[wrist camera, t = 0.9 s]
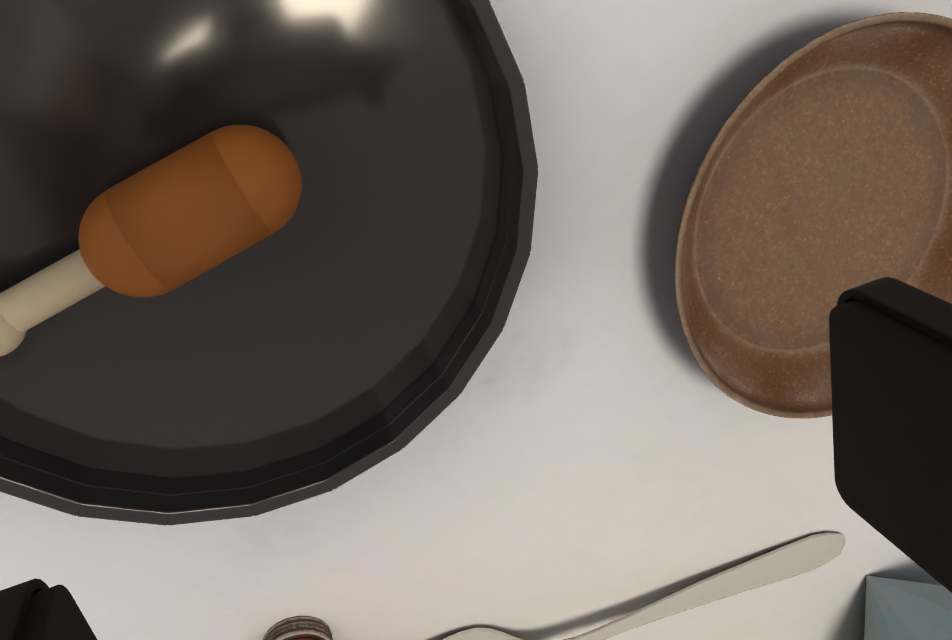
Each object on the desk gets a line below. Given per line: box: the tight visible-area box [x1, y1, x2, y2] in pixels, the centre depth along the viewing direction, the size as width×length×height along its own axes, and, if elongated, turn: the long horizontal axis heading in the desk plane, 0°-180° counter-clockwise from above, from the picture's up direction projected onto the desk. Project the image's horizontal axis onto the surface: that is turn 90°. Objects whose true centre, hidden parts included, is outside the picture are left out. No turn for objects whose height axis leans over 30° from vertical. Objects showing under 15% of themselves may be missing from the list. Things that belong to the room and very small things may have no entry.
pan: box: [0, 0, 538, 525], centre depth 24 cm, size 20×20×2 cm
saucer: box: [675, 12, 952, 418], centre depth 31 cm, size 15×15×3 cm
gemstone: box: [864, 576, 952, 640], centre depth 40 cm, size 8×8×5 cm
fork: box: [443, 532, 845, 640], centre depth 36 cm, size 3×24×2 cm, turn 96°
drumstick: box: [0, 125, 302, 357], centre depth 23 cm, size 10×3×3 cm, turn 116°
